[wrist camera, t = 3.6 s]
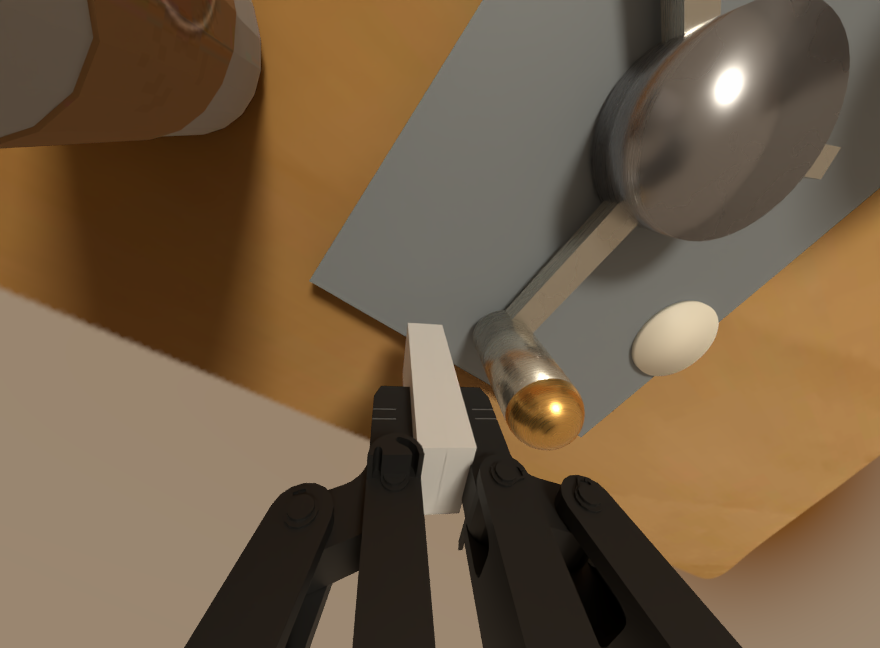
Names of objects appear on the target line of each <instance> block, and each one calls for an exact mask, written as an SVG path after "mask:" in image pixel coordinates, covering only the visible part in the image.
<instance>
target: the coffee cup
mask: <svg viewBox="0 0 880 648" xmlns="http://www.w3.org/2000/svg"><path fill="white" fill-rule="evenodd" d="M260 72H261V38H260V34H259V29H258V24H257V20H256V15H255V11H254V6H253V4H252V1H251V0H0V148H15V147H33V146H50V145H68V144H85V143H103V142H120V141H138V140H152V139H155V138H158V137H161V136H183V135H204V134H207V133H210V132H213V131H216V130H220V129H223V128H225V127H226V126H228V125H229V124H230V123H232V122H233V121H234V120H236V119H237V118H238V117H239V116H241V115H242V114H243V112H244V111H245V109H246V107H247V106H248V104H249V103H250V101H251V99H252V98H253V96H254V94H255V91H256V87H257V83H258V79H259V76H260Z"/></svg>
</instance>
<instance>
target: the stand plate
mask: <svg viewBox="0 0 880 648" xmlns="http://www.w3.org/2000/svg"><path fill="white" fill-rule="evenodd" d="M753 1H755V0H721V15H722V14H724V13H727V12H729V11H731V10H734V9H736V8H738V7H741V6H743V5H746V4H748V3H750V2H753ZM823 1H824V2H826V3H827V4H828V5H829V6H831V7H832V8H833V10H834V11H835V12H836V14H837V15H838V16H839V18H840V20H841V22H842V24H843V26H844V28H845V31H846V35H847V39H848V43H849V53H850V68H849V78H848V84H847V90H846V94H845V98H844V102H843V105H842V108H841V111H840V114H839V116H838V119H837V122H836V124H835V126H834V128H833V131H832V133H831V135H830V137H829V139H828V141H827V143H826V144H828V145H832V146H837V147H841V148H840V150H839V152H838V153H837V155H836V156H835V158H834V160H833V161H832V163H831V164H830V166H829V167H828V169H827V171H826V172H825V174H824V175H823V177H822V179H805V178H803V179H802V180H801V181H800V182H799V183H798V184H797V185H796V187H795V188H794V189H793V190H792V191H791V192H790V193H789V194H788V195H787V196H786V197H785V198H784V199H783V200H782V201H781V202H780V203H779V204H778V205H776V206H775V207H774V208H773V209H772V210H771V211H769V212H768V213H767V214H765V215H764V216H763V217H761V218H760V219H758V220H757V221H755V222H754V223H752V224H750V225H749V226H747V227H745V228H744V229H741V230H739V231H737V232H735V233H733V234H730V235H727V236H725V237H722V238H718V239H714V240H709V241H686V240H681V239H677V238H674V237H671V236H667V235H664V234H661V233H657V232H654V231H651V230H647V229H644V228H641V227H637V226H636V227H635V228H634V229H633V230H632V231H631V232H630V233H629V234H628V235H627V236H626V237H625V238H624V239H623V240H622V241H621V243H620V244H619V245H618V246H617V247H616V248H615V249H614V250H613V251H612V252H611V253H610V254H609V255H608V256H607V257H606V258H605V259H604V260H603V261H602V262H601V263H600V264H599V265H598V266H597V267H596V268H595V269H594V271H593V272H592V273H591V274H590V275H589V276H588V277H587V278H586V279H585V280H584V281H583V282H582V283H581V284H580V285H579V286H578V287H577V288H576V289H575V290H574V291H573V292H572V293H571V294H570V295H569V296H568V297H567V299H566V300H565V301H564V302H563V303H562V304H561V305H560V306H559V307H558V308H557V309H556V310H555V311H554V312H553V313H552V314H551V315H550V316H549V317H548V318H547V319H546V320H545V321H544V322H543V323H542V324H541V325H540V327H539V328H538V329H537V330H536V331H535V332H534V335H535V336H536V337H537V339H538V340H539V341H540V342H541V344H542V345H543V346H544V348H545V349H546V350H547V351H548V353H549V354H550V355H551V357H552V358H553V359H554V360H555V362H556V363H557V364H558V366H559V367H560V368H561V370H562V371H563V372H564V373H565V375H566V376H567V377H568V379H569V380H570V381H571V382H572V384H573V385H574V386H575V388H576V389H577V390H578V392H579V394H580V396H581V398H582V400H583V404H584V409H585V418H584V423H583V426H582V429H581V431H580V433H579V434H578V436H580V437H582V436H583V435H584V434H586V433H587V432H588V431H589V430H590V429H592V428H593V427H594V426H595V425H596V424H598V423H599V422H600V421H601V420H602V419H604V418H605V417H606V416H607V415H608V414H610V413H611V412H612V411H613V410H614V409H616V408H617V407H618V406H619V405H620V404H622V403H623V402H624V401H625V400H626V399H628V398H629V397H630V396H631V395H632V394H633V393H635V392H636V391H637V390H638V389H639V388H641V387H642V386H643V385H644V384H645V383H647V382H648V381H649V380H650V379H651V378H653V377H654V376H666V375H670V374H674V373H677V372H679V371H681V370H683V369H685V368H687V367H689V366H690V365H692V364H693V363H694V362H696V361H697V360H698V359H699V358H700V357H701V356H702V355H703V354H704V353H705V352H706V351H707V350H708V349H709V347H710V346H711V344H712V343H713V341H714V339H715V337H716V334H717V331H718V325H719V324H718V323H719V322H720V321H721V320H722V319H723V318H725V317H726V316H727V315H728V314H729V313H731V312H732V311H733V310H734V309H735V308H736V307H738V306H739V305H740V304H741V303H742V302H744V301H745V300H746V299H747V298H748V297H750V296H751V295H752V294H753V293H754V292H756V291H757V290H758V289H759V288H760V287H762V286H763V285H764V284H765V283H766V282H768V281H769V280H770V279H771V278H772V277H774V276H775V275H776V274H777V273H778V272H780V271H781V270H782V269H783V268H784V267H786V266H787V265H788V264H789V263H790V262H792V261H793V260H794V259H795V258H796V257H798V256H799V255H800V254H801V253H802V252H804V251H805V250H806V249H807V248H808V247H810V246H811V245H812V244H813V243H814V242H816V241H817V240H818V239H819V238H820V237H822V236H823V235H824V234H825V233H826V232H828V231H829V230H830V229H831V228H832V227H834V226H835V225H836V224H837V223H838V222H839V221H841V220H842V219H843V218H844V217H845V216H847V215H848V214H849V213H850V212H851V211H853V210H854V209H855V208H856V207H857V206H859V205H860V204H861V203H862V202H863V201H865V200H866V199H867V198H868V197H869V196H871V195H872V194H873V193H874V192H875V191H877V190H878V189H879V188H880V0H823ZM661 41H662V35H661V0H483V1H482V2H481V4H480V6H479V7H478V9H477V11H476V12H475V14H474V15H473V17H472V19H471V20H470V22H469V23H468V25H467V27H466V28H465V30H464V32H463V33H462V35H461V36H460V38H459V40H458V41H457V43H456V44H455V46H454V48H453V49H452V51H451V53H450V54H449V56H448V57H447V59H446V61H445V62H444V64H443V66H442V67H441V69H440V70H439V72H438V74H437V75H436V77H435V78H434V80H433V82H432V83H431V85H430V87H429V88H428V90H427V91H426V93H425V95H424V96H423V98H422V99H421V101H420V103H419V104H418V106H417V108H416V109H415V111H414V112H413V114H412V116H411V117H410V119H409V121H408V122H407V124H406V125H405V127H404V129H403V130H402V132H401V133H400V135H399V137H398V138H397V140H396V142H395V143H394V145H393V146H392V148H391V150H390V151H389V153H388V154H387V156H386V158H385V159H384V161H383V163H382V164H381V166H380V167H379V169H378V171H377V172H376V174H375V176H374V177H373V179H372V180H371V182H370V184H369V185H368V187H367V188H366V190H365V192H364V193H363V195H362V197H361V198H360V200H359V201H358V203H357V205H356V206H355V208H354V209H353V211H352V213H351V214H350V216H349V218H348V219H347V221H346V222H345V224H344V226H343V227H342V229H341V231H340V232H339V234H338V235H337V237H336V239H335V240H334V242H333V243H332V245H331V247H330V248H329V250H328V252H327V253H326V255H325V256H324V258H323V260H322V261H321V263H320V264H319V266H318V268H317V269H316V271H315V273H314V274H313V276H312V277H311V279H310V282H312V283H314V284H315V285H317V286H319V287H320V288H322V289H324V290H326V291H327V292H329V293H331V294H333V295H334V296H336V297H338V298H340V299H341V300H343V301H345V302H347V303H348V304H350V305H352V306H354V307H355V308H357V309H359V310H360V311H362V312H364V313H366V314H367V315H369V316H371V317H373V318H374V319H376V320H378V321H380V322H381V323H383V324H385V325H387V326H388V327H390V328H392V329H394V330H395V331H397V332H399V333H400V334H402V335H404V336H407V326H408V323H421V324H437V325H442V326H443V329H444V333H445V336H446V340H447V343H448V347H449V351H450V354H451V358H452V361H453V364H454V365H456V366H458V367H460V368H461V369H463V370H465V371H467V372H468V373H470V374H472V375H474V376H475V377H477V378H479V379H480V380H482V381H484V382H486V383H487V384H489V385H491V384H490V382H489V380H488V377H487V375H486V372H485V370H484V368H483V365H482V363H481V361H480V358H479V356H478V353H477V351H476V349H475V346H474V343H473V332H474V329H475V327H476V325H477V324H478V322H479V321H480V320H481V319H482V318H483V317H485V316H486V315H488V314H490V313H492V312H495V311H500V310H506V309H507V308H508V307H509V306H510V305H511V304H512V303H513V301H514V300H515V299H516V298H517V297H518V296H519V295H520V294H521V293H522V291H523V290H524V289H525V288H526V287H527V286H528V285H529V284H530V282H531V281H532V280H533V279H534V278H535V277H536V276H537V275H538V274H539V272H540V271H541V270H542V269H543V268H544V267H545V266H546V265H547V264H548V262H549V261H550V260H551V259H552V258H553V257H554V256H555V255H556V254H557V252H558V251H559V250H560V249H561V248H562V247H563V246H564V245H565V244H566V242H567V241H568V240H569V239H570V238H571V237H572V236H573V235H574V234H575V232H576V231H577V230H578V229H579V228H580V227H581V226H582V225H583V224H584V222H585V221H586V220H587V219H588V218H589V217H590V216H591V215H592V214H593V212H594V211H595V210H596V209H597V208H598V207H599V206H600V205H601V202H600V200H599V198H598V196H597V194H596V191H595V188H594V185H593V180H592V175H591V149H592V143H593V137H594V133H595V130H596V126H597V123H598V120H599V117H600V115H601V112H602V110H603V108H604V106H605V104H606V101H607V99H608V98H609V96H610V94H611V93H612V91H613V89H614V87H615V86H616V84H617V83H618V82H619V80H620V79H621V78H622V76H623V75H624V73H625V72H626V71H627V70H628V69H629V68H630V67H631V66H632V65H633V63H634V62H635V61H636V60H638V59H639V58H640V57H641V56H642V55H643V54H644V53H645V52H646V51H648V50H649V49H651V48H652V47H653V46H655V45H656V44H657V43H659V42H661Z"/></svg>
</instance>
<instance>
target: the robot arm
mask: <svg viewBox="0 0 880 648" xmlns="http://www.w3.org/2000/svg"><path fill="white" fill-rule="evenodd" d="M461 504H463V508H464V513H465V521H464V524H463V528H462V531H461V535H460V538H459V548H458V549H459V550H462V549H463V546H464V543H465V549H466V554H467V560H468V565H469V571H470V577H471V583H472V587H473V594H474V599H475V605H476V610H477V616H478V622H479V628H480V633H481V639H482V644H483V648H742V647H741V646H740V645H739V643H738V642H737V641H736V640H735V639H734V638H733V636H732V635H731V634H730V633H729V632H728V631H727V630H726V628H725V627H724V626H723V625H722V624H721V623H720V621H719V620H718V619H717V618H716V617H715V616H714V615H713V613H712V612H711V611H710V610H709V609H708V608H707V606H706V605H705V604H704V603H703V602H702V601H701V600H700V598H699V597H698V596H697V595H696V594H695V593H694V591H693V590H692V589H691V588H690V587H689V586H688V585H687V583H686V582H685V581H684V580H683V579H682V578H681V577H680V575H679V574H678V573H677V572H676V571H675V570H674V568H673V567H672V566H671V565H670V564H669V563H668V561H667V560H666V559H665V558H664V557H663V556H662V555H661V553H660V552H659V551H658V550H657V549H656V548H655V546H654V545H653V544H652V543H651V542H650V541H649V540H648V538H647V537H646V536H645V535H644V534H643V533H642V531H641V530H640V529H639V528H638V527H637V526H636V525H635V523H634V522H633V521H632V520H631V519H630V518H629V516H628V515H627V514H626V513H625V512H624V511H623V510H622V508H621V507H620V506H619V505H618V504H617V503H616V502H615V500H614V499H613V498H612V497H611V496H610V495H609V493H608V492H607V491H606V490H605V489H604V488H602V487H601V486H600V485H599V484H598V483H596V482H595V481H593V480H591V479H589V478H587V477H584V476H580V475H570V476H568V477H567V478H565V479H564V480H563V482H562V484H561V485H560V484H557V483H553V482H550V481H546V480H543V479H539V478H536V477H534V476H531V475H530V474H528V473H527V471H526V470H525V468H524V467H523V466H522V465H521V464H520V463H519V462H518V461H517V460H515V459H513V458H512V456H511V455H510V452H509V449H508V447H507V444H506V442H505V439H504V436H503V434H502V431H501V429H500V426H499V424H498V421H497V420H496V416H495V413H494V411H493V408H492V405H491V403H490V400H489V398H488V396H487V395H486V394H485V393H484V392H483V391H482V390H481V389H480V388H474V387H460V386H459V383H458V379H457V376H456V372H455V368H454V365H453V361H452V358H451V354H450V351H449V347H448V343H447V340H446V336H445V333H444V329H443V326H442V325H437V324H421V323H408V326H407V336H406V346H405V356H404V366H403V387H401V386H381V387H380V388H379V390H378V391H377V392H376V394H375V395H374V403H373V415H372V427H371V438H370V449H369V452H368V457H367V466H366V467H365V469H364V471H363V472H362V473H361V474H360V475H359V476H358V477H357V478H355V479H354V480H353V481H351V482H349V483H347V484H344V485H342V486H339V487H336V488H333V489H330V490H327V489H326V488H325V487H323V486H321V485H318V484H316V483H303V484H300V485H297V486H294V487H291V488H290V489H288V490H286V491H285V492H283V493H282V494H281V495H280V496H279V497H278V498H277V499H276V500H275V501H274V503H273V504H272V505H271V507H270V508H269V510H268V512H267V513H266V515H265V517H264V518H263V520H262V521H261V523H260V525H259V526H258V528H257V530H256V531H255V533H254V534H253V536H252V538H251V540H250V541H249V543H248V544H247V546H246V548H245V549H244V551H243V552H242V554H241V556H240V557H239V559H238V561H237V562H236V564H235V565H234V567H233V569H232V570H231V572H230V574H229V576H228V577H227V579H226V580H225V582H224V583H223V585H222V587H221V588H220V590H219V592H218V593H217V595H216V597H215V598H214V600H213V602H212V603H211V605H210V606H209V608H208V610H207V611H206V613H205V615H204V616H203V618H202V619H201V621H200V623H199V625H198V626H197V628H196V629H195V631H194V632H193V634H192V636H191V637H190V639H189V641H188V642H187V644H186V646H185V647H184V648H310V646H311V643H312V640H313V637H314V634H315V631H316V629H317V626H318V623H319V620H320V617H321V614H322V611H323V609H324V606H325V602H326V600H327V597H328V594H329V591H330V588H331V586H332V583H334V582H336V581H338V580H340V579H342V578H344V577H346V576H348V575H351V574H353V573H355V572H357V571H359V575H358V588H357V599H356V611H355V623H354V636H353V648H435V638H434V626H433V614H432V602H431V590H430V579H429V566H428V555H427V543H426V531H425V519H424V515H429V514H450V513H459V512H460V508H461Z"/></svg>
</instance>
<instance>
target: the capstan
mask: <svg viewBox="0 0 880 648" xmlns="http://www.w3.org/2000/svg"><path fill="white" fill-rule="evenodd" d="M661 35H662V41H661V42H659V43H657V44H656V45H655V46H653V47H652V48H651V49H649V50H648V51H646V52H645V53H644V54H643V55H642V56H641V57H640V58H639V59H638V60H636V61H635V62H634V63H633V65H632V66H631V67H630V68H629V69H628V70H627V71H626V72H625V73H624V75H623V76H622V78H621V79H620V80H619V82H618V83H617V84H616V86H615V87H614V89H613V91H612V93H611V94H610V96H609V98H608V99H607V101H606V104H605V106H604V108H603V110H602V112H601V115H600V117H599V120H598V123H597V126H596V130H595V133H594V137H593V143H592V149H591V175H592V180H593V185H594V188H595V191H596V194H597V196H598V198H599V200H600V202H601V205H600V206H599V207H598V208H597V209H596V210H595V211H594V212H593V214H592V215H591V216H590V217H589V218H588V219H587V220H586V221H585V222H584V224H583V225H582V226H581V227H580V228H579V229H578V230H577V231H576V232H575V234H574V235H573V236H572V237H571V238H570V239H569V240H568V241H567V242H566V244H565V245H564V246H563V247H562V248H561V249H560V250H559V251H558V252H557V254H556V255H555V256H554V257H553V258H552V259H551V260H550V261H549V262H548V264H547V265H546V266H545V267H544V268H543V269H542V270H541V271H540V272H539V274H538V275H537V276H536V277H535V278H534V279H533V280H532V281H531V282H530V284H529V285H528V286H527V287H526V288H525V289H524V290H523V291H522V293H521V294H520V295H519V296H518V297H517V298H516V299H515V300H514V301H513V303H512V304H511V305H510V306H509V307H508V308H507V309H506V310H500V311H495V312H492V313H490V314H488V315H486V316H485V317H483V318H482V319H481V320H480V321H479V322H478V324H477V325H476V327H475V329H474V332H473V343H474V346H475V349H476V351H477V353H478V356H479V358H480V361H481V363H482V365H483V368H484V370H485V372H486V375H487V377H488V380H489V382H490V384H491V387H492V389H493V392H494V394H495V396H496V399H497V401H498V404H499V406H500V408H501V411H502V413H503V415H504V418H505V420H506V423H507V425H508V427H509V428H510V430H511V431H512V433H513V434H514V435H515V436H516V437H517V438H518V439H519V440H520V441H521V442H523V443H524V444H526V445H528V446H530V447H532V448H535V449H539V450H556V449H559V448H562V447H564V446H566V445H568V444H570V443H571V442H572V441H573V440H574V439H575V438H576V437H577V436H578V434H579V433H580V431H581V429H582V426H583V423H584V418H585V409H584V404H583V400H582V398H581V396H580V394H579V392H578V390H577V389H576V388H575V386H574V385H573V384H572V382H571V381H570V380H569V379H568V377H567V376H566V375H565V373H564V372H563V371H562V370H561V368H560V367H559V366H558V364H557V363H556V362H555V360H554V359H553V358H552V357H551V355H550V354H549V353H548V351H547V350H546V349H545V348H544V346H543V345H542V344H541V342H540V341H539V340H538V339H537V337H536V336H535V335H534V332H535V331H536V330H537V329H538V328H539V327H540V325H541V324H542V323H543V322H544V321H545V320H546V319H547V318H548V317H549V316H550V315H551V314H552V313H553V312H554V311H555V310H556V309H557V308H558V307H559V306H560V305H561V304H562V303H563V302H564V301H565V300H566V299H567V297H568V296H569V295H570V294H571V293H572V292H573V291H574V290H575V289H576V288H577V287H578V286H579V285H580V284H581V283H582V282H583V281H584V280H585V279H586V278H587V277H588V276H589V275H590V274H591V273H592V272H593V271H594V269H595V268H596V267H597V266H598V265H599V264H600V263H601V262H602V261H603V260H604V259H605V258H606V257H607V256H608V255H609V254H610V253H611V252H612V251H613V250H614V249H615V248H616V247H617V246H618V245H619V244H620V243H621V241H622V240H623V239H624V238H625V237H626V236H627V235H628V234H629V233H630V232H631V231H632V230H633V229H634V228H635V227H636V226H637V227H641V228H644V229H647V230H651V231H654V232H657V233H661V234H664V235H667V236H671V237H674V238H677V239H681V240H686V241H709V240H714V239H718V238H722V237H725V236H727V235H730V234H733V233H735V232H737V231H739V230H741V229H744V228H745V227H747V226H749V225H750V224H752V223H754V222H755V221H757V220H758V219H760V218H761V217H763V216H764V215H765V214H767V213H768V212H769V211H771V210H772V209H773V208H774V207H775V206H776V205H778V204H779V203H780V202H781V201H782V200H783V199H784V198H785V197H786V196H787V195H788V194H789V193H790V192H791V191H792V190H793V189H794V188H795V187H796V185H797V184H798V183H799V182H800V181H801V180H802V179H803V178H805V179H822V177H823V175H824V174H825V172H826V171H827V169H828V167H829V166H830V164H831V163H832V161H833V160H834V158H835V156H836V155H837V153H838V152H839V150H840V148H841V147H837V146H832V145H828V144H826V143H827V141H828V139H829V137H830V135H831V133H832V131H833V128H834V126H835V124H836V122H837V119H838V116H839V114H840V111H841V108H842V105H843V102H844V98H845V94H846V90H847V84H848V78H849V68H850V53H849V43H848V39H847V35H846V31H845V28H844V26H843V24H842V22H841V20H840V18H839V16H838V15H837V14H836V12H835V11H834V10H833V8H832V7H831V6H829V5H828V4H827V3H826V2H824V1H823V0H755V1H753V2H750V3H748V4H746V5H743V6H741V7H738V8H736V9H734V10H731V11H729V12H727V13H724V14H722V15H721V0H661Z"/></svg>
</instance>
